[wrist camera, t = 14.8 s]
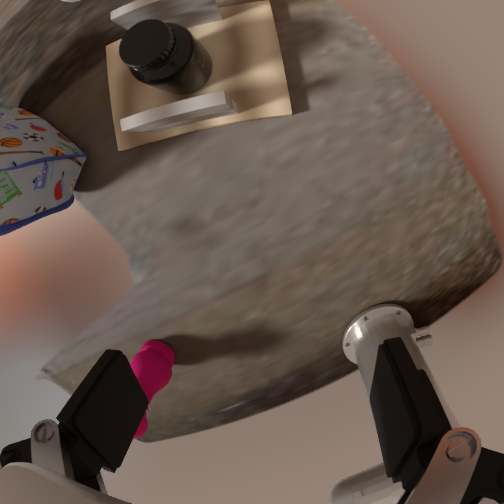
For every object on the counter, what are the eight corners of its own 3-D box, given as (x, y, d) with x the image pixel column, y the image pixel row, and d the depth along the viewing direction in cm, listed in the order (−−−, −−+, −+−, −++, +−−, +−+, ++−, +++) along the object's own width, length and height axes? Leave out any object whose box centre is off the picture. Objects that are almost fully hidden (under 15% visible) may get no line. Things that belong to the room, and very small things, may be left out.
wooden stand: (269, 6, 25) (267, -38, 15) (291, 115, 31) (299, 103, 20) (112, 49, 27) (66, 30, 17) (125, 150, 33) (76, 157, 23)
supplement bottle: (176, 39, 26) (134, 2, 15) (224, 56, 26) (199, 17, 15) (149, 85, 28) (96, 67, 17) (195, 104, 29) (156, 88, 18)
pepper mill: (186, 357, 46) (152, 452, 28) (162, 371, 48) (128, 456, 30) (155, 331, 44) (107, 423, 26) (134, 347, 46) (88, 430, 28)
